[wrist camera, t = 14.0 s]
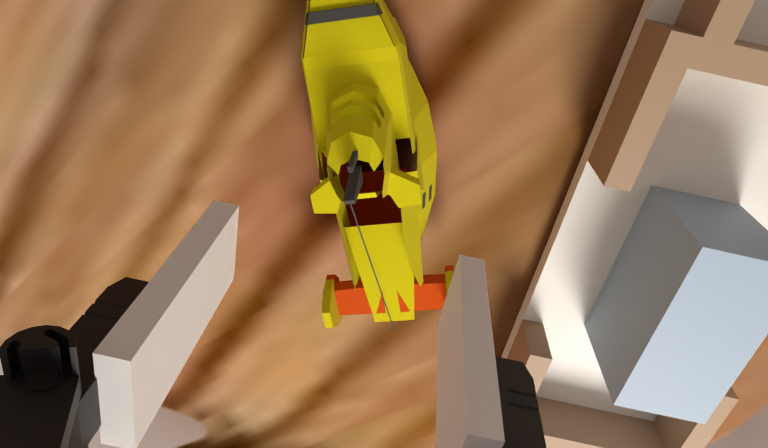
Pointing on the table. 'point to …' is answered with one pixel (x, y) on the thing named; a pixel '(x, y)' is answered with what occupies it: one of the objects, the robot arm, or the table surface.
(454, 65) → the table surface
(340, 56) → the toy boat
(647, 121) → the jig
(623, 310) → the block
